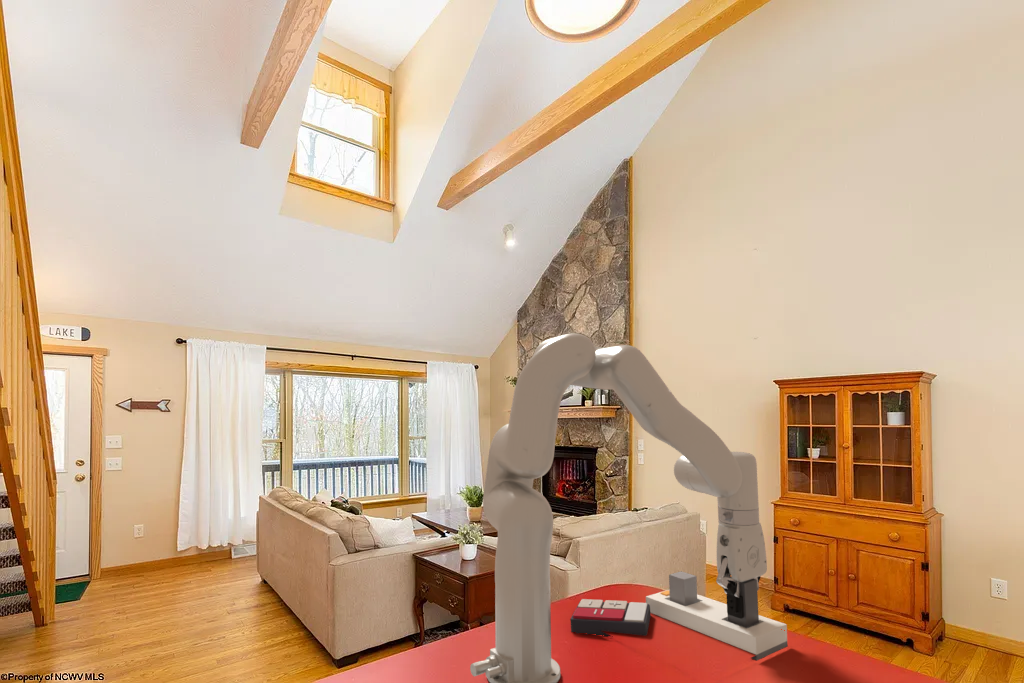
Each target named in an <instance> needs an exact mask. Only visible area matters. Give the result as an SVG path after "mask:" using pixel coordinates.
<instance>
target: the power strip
mask: <svg viewBox="0 0 1024 683" xmlns="http://www.w3.org/2000/svg"><path fill="white" fill-rule="evenodd" d="M645 603H647V604H649V605H650V614H652V615H655V616H658V617H660V618H663V619H664V620H667V621H670V622H673V623H675V624H676V625H680V626H682V627H685V628H687V629H690V630H692V631H694V632H698V633H700V634H703V635H704V636H707V637H711V638H712V639H715V640H718V641H720V642H723V643H724V644H728V645H730V646H733V647H736V648H738V649H741V650H743V651H745V652H747V653H751V654H752V655H754V656H751V657H750V659H752V660H754V661H759V660H761V659H764V658H766V657H768V656H770V655H773V654H774V653H776V652H779V651H780V650H783V649H785V648H788V626H787V625H788V624H786V623H784V622H781V621H778V620H776V619H775V620H774V619H771V618H769V617H765V616H763V615H760V614H758V616H759V623H757V624H754V625H752V626H749V627H747V628H746V627H743V626H740V625H738V624H735V623H732V622H729V621H728V613H727V603H724V602H721V601H718V600H714V599H713V598H709V597H706V596H704V595H701V594H698V593H697V603H694V604H691V605H688V606H683V605H680V604H678V603H675V602H672V601H670V592H669V589H666V590H662V591H660V592H657V593H653V594H649V595H646V596H645ZM781 629H782V630H781ZM784 630H785V631H784Z"/></svg>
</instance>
